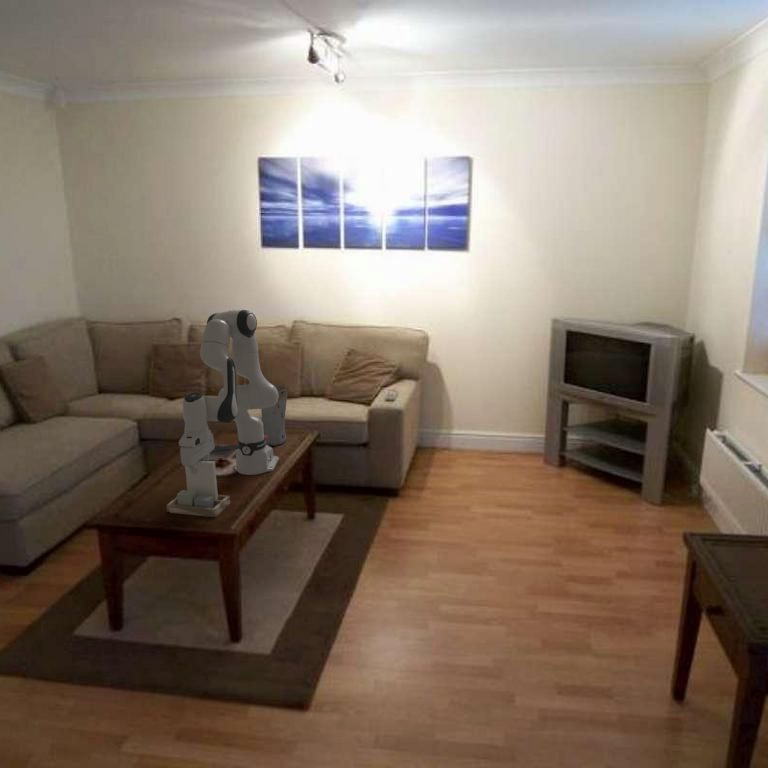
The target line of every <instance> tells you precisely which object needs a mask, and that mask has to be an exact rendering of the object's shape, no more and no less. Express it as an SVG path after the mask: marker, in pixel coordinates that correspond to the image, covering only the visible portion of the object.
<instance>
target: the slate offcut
mask: <svg viewBox="0 0 768 768" xmlns="http://www.w3.org/2000/svg"><path fill="white" fill-rule="evenodd" d="M194 506H195V507H205V508H214V501H213V496H202V495H199V496H197V497H196V498H195V499H194Z"/></svg>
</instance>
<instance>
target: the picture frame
mask: <svg viewBox="0 0 768 768" xmlns="http://www.w3.org/2000/svg"><path fill="white" fill-rule="evenodd" d="M214 444H215V447H214V450H212V451H211V452H210V456H209V461H216V460H215V459H218V458H224V459H229V460H230V459H232V458H233V457H234V456H236V451H237V450H238V449H239V448H238V444H221V443H214ZM201 460H204V457H203V458H202V459H201Z"/></svg>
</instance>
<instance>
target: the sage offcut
mask: <svg viewBox="0 0 768 768" xmlns="http://www.w3.org/2000/svg"><path fill="white" fill-rule="evenodd" d="M176 497H177V500H178V505H184V506H194V499H195V498H196V497H197V494H196V491H187V489H186V490H185V489H184V490H183V489H182V490H180V491H179V492H177V494H176ZM194 507H195V506H194Z"/></svg>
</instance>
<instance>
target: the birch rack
mask: <svg viewBox="0 0 768 768" xmlns="http://www.w3.org/2000/svg"><path fill="white" fill-rule="evenodd" d="M213 501H214V508H205V507H194V506H184V505H178V500H177V496H176V497H175V498H173V499H172V500H171V501H169V503H167V504H166V507H165V508H166V513H167V512H170V513H169V514H177V515H179V514H180V515H191V516H202V517H211V518H216V517H217V516H218V515H219V514H221V513H222V512H223V511H224V510H225V509H226V508H227V507H228V506H229V505H230V504H231V495H224V494H218V500H214V499H213Z"/></svg>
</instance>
